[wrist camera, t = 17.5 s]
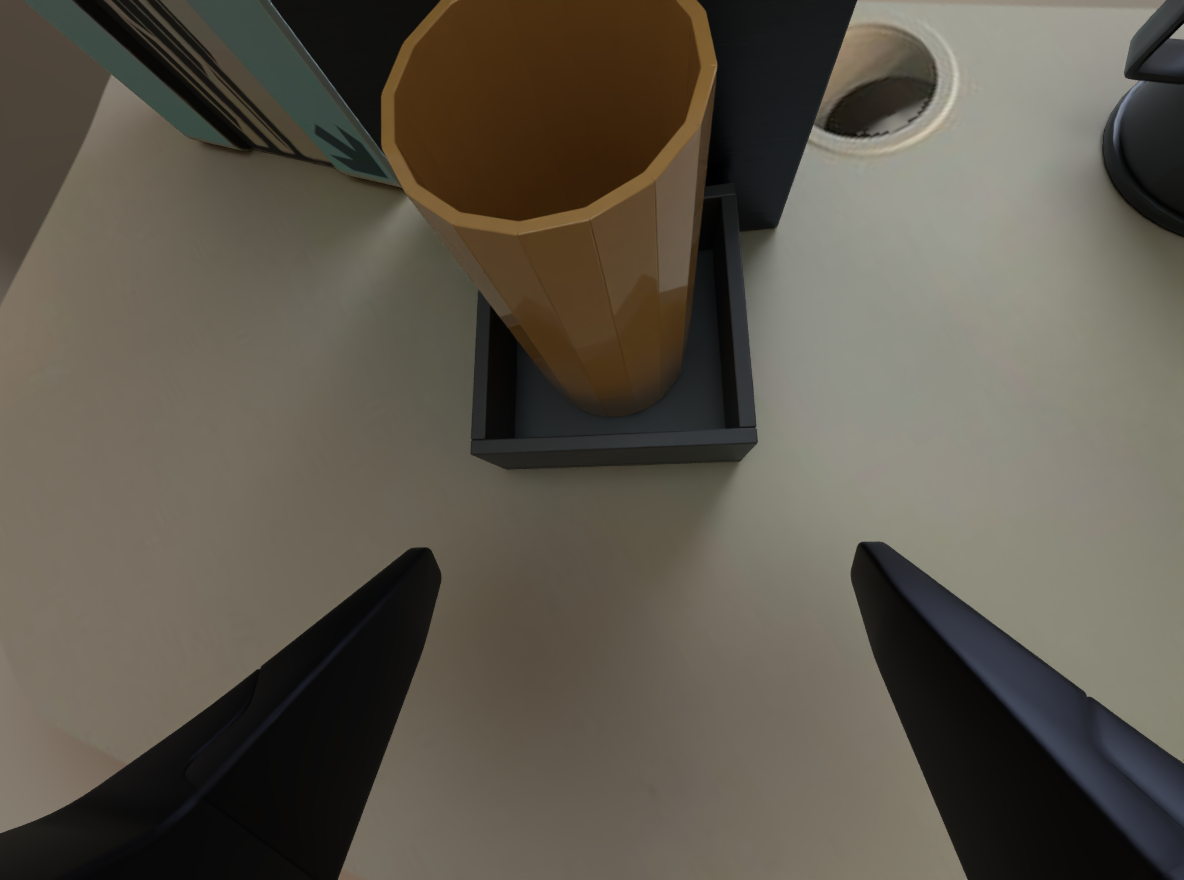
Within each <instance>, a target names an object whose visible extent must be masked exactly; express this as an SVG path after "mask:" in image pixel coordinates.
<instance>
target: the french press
mask: <svg viewBox="0 0 1184 880" xmlns="http://www.w3.org/2000/svg"><path fill="white" fill-rule="evenodd" d="M1183 24H1184V0H1166V1H1165V2H1164V3H1163V5H1161V7H1160V8H1159V9H1158V10H1157V11H1156V12H1155V13H1154V14H1153V15H1152V16H1151V17H1150V18H1149V19H1148V21H1147V22H1146V23H1145V24H1144V25H1143V26H1142V27H1141V28H1140V29H1139V30H1138V32H1137V33H1136V34H1135V35H1134V37H1133V38H1132V40H1131V43H1130V47H1129V52H1128V56H1127V61H1126V66H1125V70H1124V75H1125V77H1126V78H1128V79H1133V80H1140V81H1139V82H1138V83H1137V84H1136V85H1135V86H1133V87H1132V88H1131V89H1130V90H1129V91H1128V92H1127V93H1126V94H1125V95H1124V96H1123V97H1122V98H1121V100H1120V101H1119V103H1118V104H1117V106H1116V107H1115V108H1114V110H1113V111H1112V113H1111V115H1110V117H1109V120H1108V123H1107V125H1106V128H1105V131H1104V141H1103V152H1104V158H1105V163H1106V167H1107V169H1108V172H1109V174H1110V176H1111V178H1112V180H1113V182H1114V184H1115V185H1116V187H1117V188H1118V189H1119V191H1120V192H1121V193H1122V194H1123V196H1124V197H1125V198H1126V199H1127V201H1128V202H1129V203H1131V204H1132V205H1133V206H1134V207H1135V208H1137V209H1138V210H1139V211H1140V212H1141V213H1142V214H1144V215H1145V216H1146V217H1148V218H1150V219H1151V220H1153V221H1155V222H1156V223H1158V224H1160V225H1161V226H1163V227H1165V228H1166V229H1169V230H1171V231H1174V232H1176V233H1179V234H1181V235H1184V40H1180V39H1169V37H1170V36H1171V35H1172V34H1173V33H1174V32H1175V31H1176V30H1177V29H1178V28H1179V27H1180V26H1182V25H1183Z"/></svg>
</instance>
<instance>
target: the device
mask: <svg viewBox="0 0 1184 880" xmlns="http://www.w3.org/2000/svg"><path fill="white" fill-rule="evenodd" d="M23 1H24V2H25V3H27V4H28V5H29V6H30V7H31V8H33V9H34V10H35V11H36V12H37V13H39V14H40V15H41V16H42V17H43V18H45V19H46V20H47V21H48V22H50V23H51V24H52V25H53V26H54V27H55V28H57V29H58V30H59V31H60V32H61V33H63V34H64V35H65V36H66V37H67V38H69V39H70V40H71V41H72V42H73V43H75V44H76V45H77V46H78V47H79V48H81V49H82V50H83V51H84V52H86V53H87V54H88V55H89V56H91V57H92V58H93V59H94V60H95V61H96V62H97V63H99V64H100V65H101V66H102V67H104V68H105V69H106V70H107V71H108V72H110V73H111V74H112V75H113V76H114V77H115V78H117V79H118V80H119V81H120V82H122V83H123V84H124V85H125V86H126V87H128V88H129V89H130V90H131V91H132V92H134V93H135V94H136V95H137V96H138V97H140V98H141V99H142V100H143V101H144V102H146V103H147V104H148V105H149V106H150V107H152V108H153V109H154V110H155V111H156V112H158V113H159V114H160V115H161V116H162V117H164V118H165V119H166V120H167V121H168V122H170V123H171V124H172V125H173V126H174V127H176V128H177V129H178V130H179V131H180V132H182V133H183V134H184V135H186V136H187V137H189V138H191V139H194V140H198V141H202V142H207V143H211V144H215V145H220V146H224V147H228V148H233V149H237V150H241V151H249V150H251V149H255V150H259V151H264V152H268V153H272V154H277V155H281V156H285V157H290V158H294V159H299V160H303V161H307V162H312V163H316V164H320V165H325V166H329V167H334V168H336V169H337V170H338V171H340V172H341V173H343V174H345V175H349V176H354V177H358V178H362V179H367V180H371V181H375V182H380V183H384V184H388V185H393V186H397V187H401V188H402V186H401V184H400V182H399V180H398V178H397V177H396V175H395V173H394V171H393V169H392V167H391V165H390V163H389V161H388V160H387V158H386V157H385V156H384V154H383V153H382V152H381V150H380V149H379V147H378V146H377V145H376V143H375V142H374V141H373V139H372V138H371V137H370V135H369V134H368V133H367V131H366V130H365V129H364V127H363V126H362V125H361V123H360V122H359V120H358V119H357V118H356V116H355V115H354V114H353V112H352V111H351V110H350V108H349V107H348V106H347V104H346V103H345V102H344V100H343V99H342V98H341V96H340V95H339V93H338V92H337V91H336V89H335V88H334V87H333V85H332V84H331V83H330V81H329V80H328V79H327V77H326V76H325V75H324V73H323V72H322V71H321V69H320V68H319V66H318V65H317V64H316V62H315V61H314V60H313V58H312V57H311V56H310V54H309V53H308V52H307V50H306V49H305V48H304V46H303V45H302V44H301V42H300V41H299V39H298V38H297V37H296V35H295V34H294V33H293V31H292V30H291V29H290V27H289V26H288V25H287V23H286V22H285V21H284V19H283V18H282V17H281V15H280V14H279V12H278V11H277V10H276V8H275V7H274V6H273V4H272V3H271V2H270V0H23Z"/></svg>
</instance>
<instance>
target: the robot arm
mask: <svg viewBox="0 0 1184 880" xmlns="http://www.w3.org/2000/svg"><path fill="white" fill-rule="evenodd" d="M851 581H852V585H853V588H854V591H855V595H856V598H857V601H858V605H859V608H860V612H861V615H862V618H863V622H864V625H865V629H866V632H867V635H868V639H869V642H870V645H871V649H872V652H873V655H874V658H875V660H876V663H877V665H878V668H879V670H880V673H881V675H882V678H883V680H884V682H885V685H886V687H887V689H888V692H889V694H890V697H891V699H892V701H893V704H894V706H895V708H896V711H897V713H898V716H899V718H900V720H901V723H902V725H903V727H904V730H905V732H906V734H907V737H908V739H909V742H910V744H911V746H912V749H913V751H914V753H915V756H916V758H917V761H918V763H919V765H920V768H921V770H922V772H923V775H924V777H925V780H926V782H927V784H928V787H929V789H930V791H931V794H932V796H933V799H934V801H935V803H936V806H937V808H938V810H939V813H940V815H941V817H942V820H943V822H944V825H945V827H946V829H947V832H948V834H949V836H950V839H951V841H952V844H953V846H954V848H955V851H956V853H957V855H958V858H959V860H960V863H961V865H962V867H963V870H964V872H965V874H966V877H967V879H968V880H1184V763H1182V762H1181V761H1179V760H1178V759H1176V758H1175V757H1173V756H1172V755H1171V754H1169V753H1168V752H1166V751H1165V750H1163V749H1162V748H1161V747H1159V746H1158V745H1157V744H1155V743H1154V742H1152V741H1151V740H1150V739H1148V738H1147V737H1145V736H1144V735H1143V734H1141V733H1140V732H1139V731H1137V730H1136V729H1134V728H1133V727H1132V726H1130V725H1129V724H1128V723H1126V722H1125V721H1123V720H1122V719H1121V718H1119V717H1118V716H1117V715H1115V714H1114V713H1113V712H1111V711H1110V710H1109V709H1107V708H1106V707H1104V706H1103V705H1102V704H1100V703H1099V702H1098V701H1096V700H1095V699H1094V698H1092V697H1087V696H1086V693H1085V692H1084V691H1083V690H1081V689H1080V688H1079V687H1077V686H1076V685H1075V684H1073V683H1072V682H1071V681H1069V680H1068V679H1067V678H1065V677H1064V676H1063V675H1061V674H1060V673H1059V672H1057V671H1056V670H1055V669H1053V668H1052V667H1051V666H1049V665H1048V664H1047V663H1045V662H1044V661H1043V660H1041V659H1040V658H1038V657H1037V656H1036V655H1034V654H1033V653H1032V652H1030V651H1029V650H1028V649H1026V648H1025V647H1024V646H1022V645H1021V644H1020V643H1018V642H1017V641H1016V640H1014V639H1013V638H1012V637H1010V636H1009V635H1008V634H1006V633H1005V632H1004V631H1002V630H1001V629H1000V628H998V627H997V626H996V625H994V624H993V623H992V622H990V621H989V620H988V619H986V618H985V617H983V616H982V615H981V614H979V613H978V612H977V611H975V610H974V609H973V608H971V607H970V606H969V605H967V604H966V603H965V602H963V601H962V600H961V599H959V598H958V597H957V596H955V595H954V594H953V593H951V592H950V591H949V590H947V589H946V588H945V587H943V586H942V585H941V584H939V583H938V582H937V581H935V580H934V579H933V578H931V577H930V576H929V575H927V574H926V573H924V572H923V571H922V570H920V569H919V568H918V567H916V566H915V565H914V564H912V563H911V562H910V561H908V560H907V559H906V558H904V557H903V556H902V555H900V554H899V553H898V552H896V551H895V550H894V549H892V548H891V547H890V546H888V545H887V544H885V543H883V542H861V543H859V544H858V546H857V549H856V553H855V557H854V560H853V564H852V568H851ZM440 584H441V571H440V569H439V566H438V564H437V562H436V559H435V557H434V555H433V553H432V551H431V550H430V549H429V548H427V547H417V548H411V549H409V550H407V551H406V552H405V553H404V554H402V555H401V556H400V557H399V558H397V559H396V560H395V561H394V562H392V563H391V564H390V565H388V566H387V567H386V568H385V569H383V570H382V571H381V572H380V573H378V574H377V575H376V576H375V577H373V578H372V579H371V580H370V581H368V582H367V583H366V584H364V585H363V586H362V587H361V588H359V589H358V590H357V591H356V592H354V593H353V594H352V595H351V596H349V597H348V598H347V599H346V600H344V601H343V602H342V603H340V604H339V605H338V606H337V607H335V608H334V609H333V610H332V611H330V612H329V613H328V614H327V615H325V616H324V617H323V618H322V619H320V620H319V621H318V622H316V623H315V624H314V625H313V626H311V627H310V628H309V629H308V630H306V631H305V632H304V633H303V634H301V635H300V636H299V637H298V638H296V639H295V640H294V641H292V642H291V643H290V644H289V645H287V646H286V647H285V648H284V649H282V650H281V651H280V652H279V653H277V654H276V655H275V656H274V657H272V658H271V659H270V660H268V661H267V662H266V663H265V664H263V665H262V666H261V668H260V669H257V670H256V671H254V672H253V673H252V674H251V675H249V676H248V677H247V678H246V679H244V680H243V681H242V682H241V683H239V684H238V685H237V686H235V687H234V688H233V689H232V690H230V691H229V692H228V693H226V694H225V695H224V696H222V697H221V698H220V699H218V700H217V701H216V702H215V703H213V704H212V705H211V706H209V707H208V708H207V709H205V710H204V711H203V712H201V713H200V714H198V715H197V716H196V717H194V718H193V719H192V720H190V721H189V722H187V723H186V724H185V725H183V726H182V727H181V728H179V729H178V730H176V731H175V732H174V733H172V734H171V735H169V736H168V737H166V738H165V739H164V740H162V741H161V742H159V743H158V744H157V745H155V746H154V747H152V748H151V749H150V750H148V751H147V752H145V753H144V754H142V755H141V756H140V757H138V758H137V759H135V760H134V761H133V762H131V763H130V764H128V765H127V766H126V767H125V768H123V769H121V770H120V771H118V772H117V773H116V774H114V775H113V776H112V777H110V778H109V779H107V780H106V781H104V782H103V783H102V784H100V785H99V786H98V787H96V788H94V789H93V790H91V791H90V792H88V793H87V794H85V795H84V796H82V797H81V798H79V799H77V800H75V801H74V802H72V803H70V804H69V805H67V806H65V807H63V808H61V809H59V810H57V811H55V812H53V813H51V814H49V815H47V816H45V817H43V818H40V819H38V820H35V821H33V822H31V823H28V824H25V825H22V826H20V827H17V828H14V829H11V830H8V831H6V832H3V833H0V880H338V877H339V875H340V872H341V869H342V867H343V864H344V861H345V859H346V856H347V853H348V851H349V848H350V845H351V842H352V840H353V837H354V834H355V832H356V829H357V826H358V824H359V821H360V818H361V816H362V813H363V810H364V808H365V805H366V802H367V799H368V797H369V794H370V791H371V789H372V786H373V783H374V781H375V778H376V775H377V773H378V770H379V767H380V764H381V762H382V759H383V756H384V754H385V751H386V748H387V746H388V743H389V740H390V738H391V735H392V732H393V730H394V727H395V724H396V721H397V719H398V716H399V713H400V711H401V708H402V705H403V703H404V700H405V697H406V695H407V692H408V689H409V686H410V684H411V681H412V678H413V676H414V673H415V670H416V668H417V665H418V662H419V660H420V657H421V654H422V651H423V648H424V645H425V642H426V638H427V635H428V631H429V627H430V623H431V619H432V615H433V611H434V608H435V604H436V600H437V596H438V592H439V588H440Z"/></svg>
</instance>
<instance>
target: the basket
mask: <svg viewBox="0 0 1184 880" xmlns="http://www.w3.org/2000/svg"><path fill="white" fill-rule="evenodd" d="M755 427H756V415H755V404H754V392H753V381H752V369H751V358H750V347H749V335H748V324H747V312H746V301H745V290H744V278H743V267H742V255H741V244H740V233H739V221H738V210H737V198H736V188H735V183H727V184H719V185H711V186H705V189H704V199H703V208H702V217H701V227H700V236H699V245H698V255H697V264H696V274H695V283H694V292H693V302H692V311H691V320H690V330H689V339H688V348H687V352H686V355H685V360H684V365H683V368H682V371H681V374H680V375H679V377H678V379H677V381H676V382H675V384H674V385H673V387H672V388H671V389H670V390H669V392H668V393H667V394H666V395H665V396H664V397H663V398H661V399H660V400H659V401H658V402H657V403H655V404H654V405H652V406H651V407H649V408H647V409H645V410H643V411H641V412H638V413H635V414H632V415H627V416H622V417H602V416H596V415H592V414H589V413H586V412H584V411H582V410H579V409H577V408H576V407H574V406H573V405H571V404H570V403H569V402H567V401H566V400H565V399H564V398H563V397H562V396H560V395H559V394H558V393H557V392H556V390H555V389H554V388H553V387H552V385H551V384H550V383H549V381H548V380H547V379H546V377H545V376H544V375H543V373H542V372H541V371H540V369H539V368H538V367H537V366H536V364H535V363H534V362H533V360H532V359H531V358H530V356H529V355H528V354H527V352H526V351H525V350H524V348H523V347H522V346H521V345H520V343H519V342H518V341H517V339H516V338H515V337H514V335H513V334H512V333H511V331H510V330H509V329H508V327H507V326H506V325H505V324H504V322H503V321H502V320H501V318H500V317H499V316H498V314H497V313H496V312H495V310H494V309H493V308H492V306H491V305H490V304H489V302H488V301H487V300H486V299H485V297H484V296H483V295H482V293H481V292H480V291H479V289H478V305H477V326H476V347H475V367H474V388H473V409H472V430H471V440H472V441H471V455H473V456H476V457H478V458H480V459H483V460H485V461H487V462H490V463H492V464H495V465H497V466H499V467H502V468H504V469H534V468H564V467H593V466H623V465H652V464H682V463H711V462H739V461H741V460H742V459H743V458H744V457H745V456H746V454H747V453H748V452H749V451H750V450H751V449H752V448H753V447H754V446H755V445H756V444H757V442H758V439H757V429H756V428H755Z"/></svg>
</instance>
